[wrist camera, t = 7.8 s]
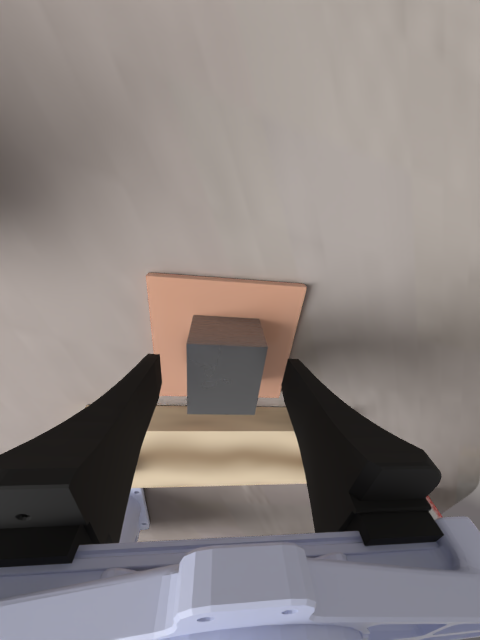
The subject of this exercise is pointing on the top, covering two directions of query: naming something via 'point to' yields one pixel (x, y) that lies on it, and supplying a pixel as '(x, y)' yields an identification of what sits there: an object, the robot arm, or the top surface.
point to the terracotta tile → (227, 301)
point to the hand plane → (218, 449)
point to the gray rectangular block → (224, 365)
